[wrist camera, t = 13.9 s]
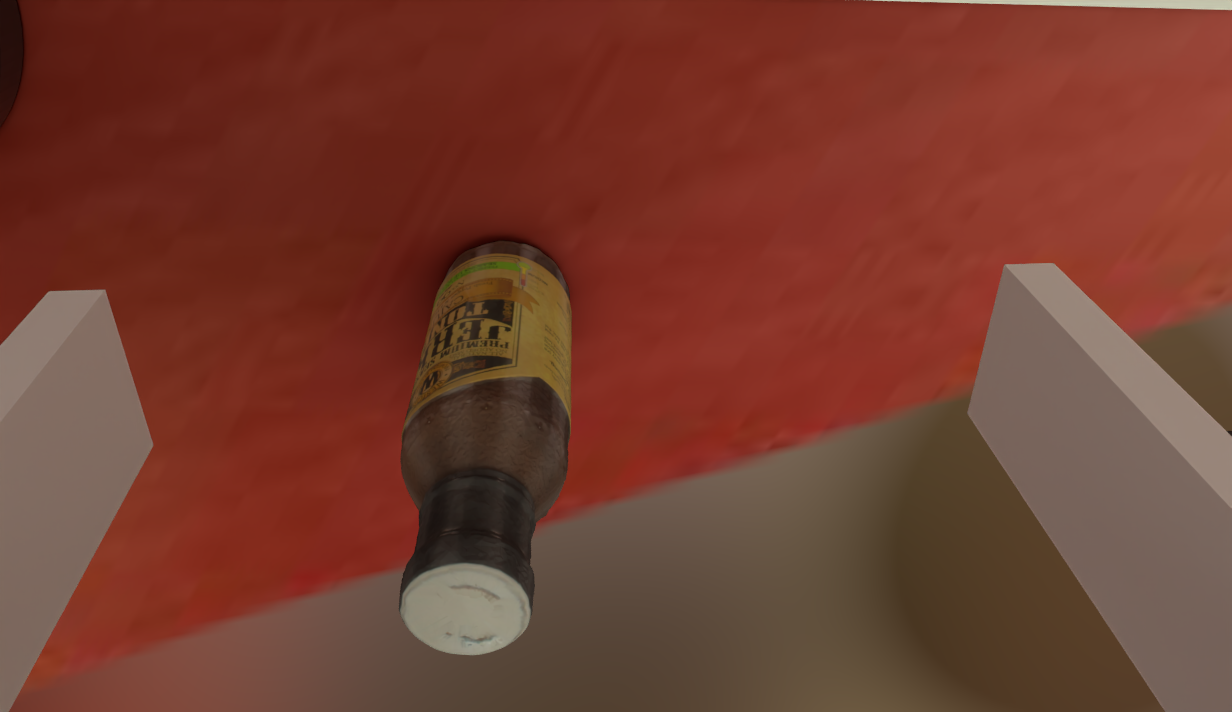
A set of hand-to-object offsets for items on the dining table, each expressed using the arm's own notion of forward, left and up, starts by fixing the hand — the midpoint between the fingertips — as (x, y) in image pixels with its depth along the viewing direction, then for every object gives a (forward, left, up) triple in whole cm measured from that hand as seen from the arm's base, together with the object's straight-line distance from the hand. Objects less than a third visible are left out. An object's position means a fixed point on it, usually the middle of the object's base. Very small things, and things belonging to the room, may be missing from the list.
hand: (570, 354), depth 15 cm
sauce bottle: (-3, -14, -28) cm, 32 cm away
